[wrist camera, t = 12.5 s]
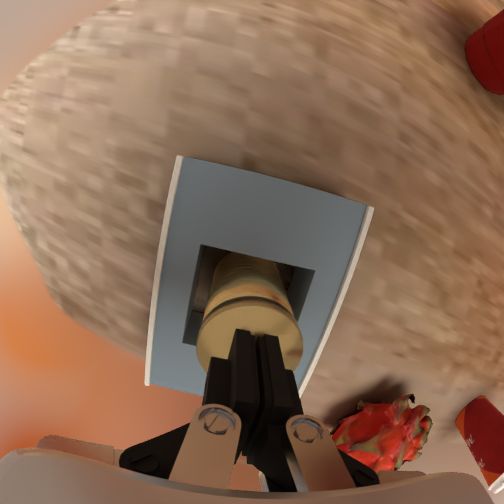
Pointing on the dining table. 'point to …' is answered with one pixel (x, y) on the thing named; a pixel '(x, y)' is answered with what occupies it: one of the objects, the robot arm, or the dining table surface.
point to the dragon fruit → (384, 433)
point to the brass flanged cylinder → (247, 309)
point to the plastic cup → (488, 54)
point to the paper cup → (485, 439)
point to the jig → (254, 244)
